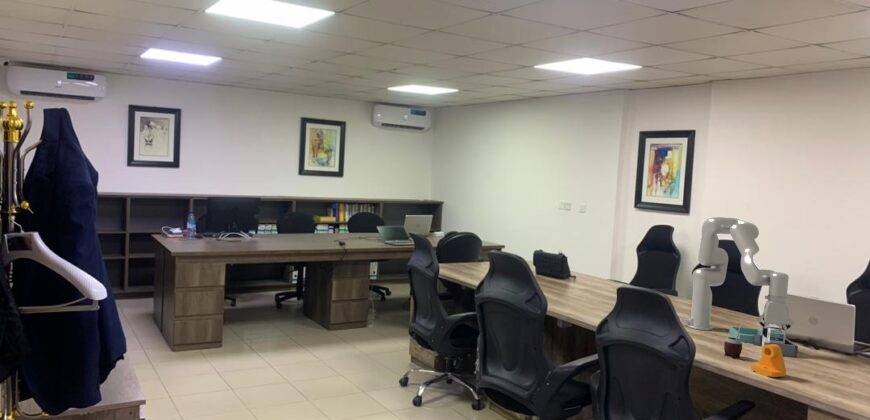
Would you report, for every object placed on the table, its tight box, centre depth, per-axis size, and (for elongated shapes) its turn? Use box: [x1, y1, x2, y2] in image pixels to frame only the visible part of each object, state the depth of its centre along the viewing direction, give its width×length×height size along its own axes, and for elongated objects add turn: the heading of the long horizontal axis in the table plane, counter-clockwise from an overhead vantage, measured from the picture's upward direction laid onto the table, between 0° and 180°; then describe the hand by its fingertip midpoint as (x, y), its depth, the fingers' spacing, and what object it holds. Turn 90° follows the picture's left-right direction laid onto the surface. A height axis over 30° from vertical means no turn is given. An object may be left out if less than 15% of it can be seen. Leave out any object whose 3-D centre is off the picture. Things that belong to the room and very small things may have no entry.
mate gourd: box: [723, 322, 745, 359], centre depth 275 cm, size 8×8×15 cm
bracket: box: [750, 344, 787, 378], centre depth 251 cm, size 11×7×12 cm, turn 25°
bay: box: [752, 334, 799, 358], centre depth 290 cm, size 14×16×5 cm
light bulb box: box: [761, 324, 787, 348], centre depth 290 cm, size 11×7×11 cm, turn 168°
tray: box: [728, 325, 763, 344], centre depth 311 cm, size 14×18×4 cm
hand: (773, 337), depth 290 cm, fingers closed on light bulb box, 6 cm apart
